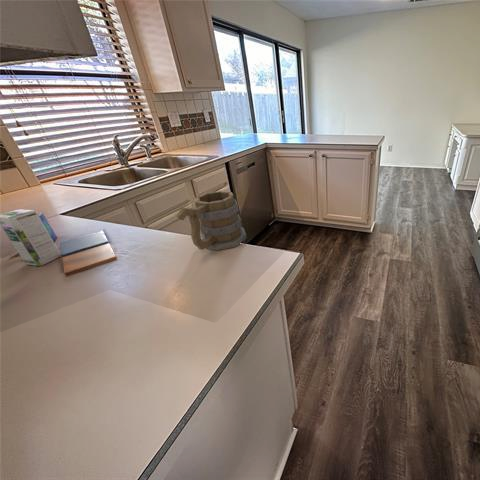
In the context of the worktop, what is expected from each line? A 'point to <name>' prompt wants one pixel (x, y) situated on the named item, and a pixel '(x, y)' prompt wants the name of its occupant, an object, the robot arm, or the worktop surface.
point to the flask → (47, 226)
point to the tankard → (215, 221)
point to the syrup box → (29, 236)
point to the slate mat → (83, 243)
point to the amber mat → (88, 259)
